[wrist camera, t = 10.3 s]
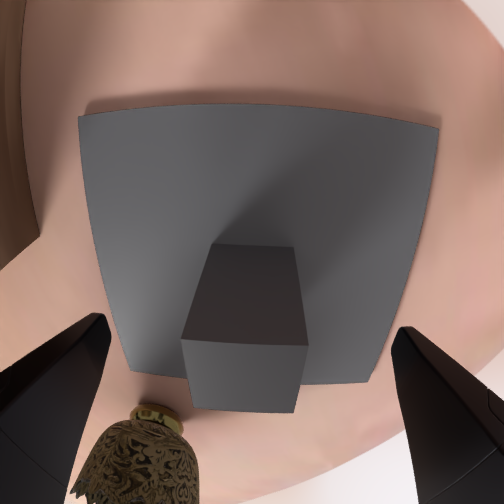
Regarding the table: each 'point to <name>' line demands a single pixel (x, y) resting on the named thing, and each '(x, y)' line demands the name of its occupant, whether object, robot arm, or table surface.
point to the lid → (254, 241)
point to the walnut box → (13, 141)
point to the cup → (141, 462)
